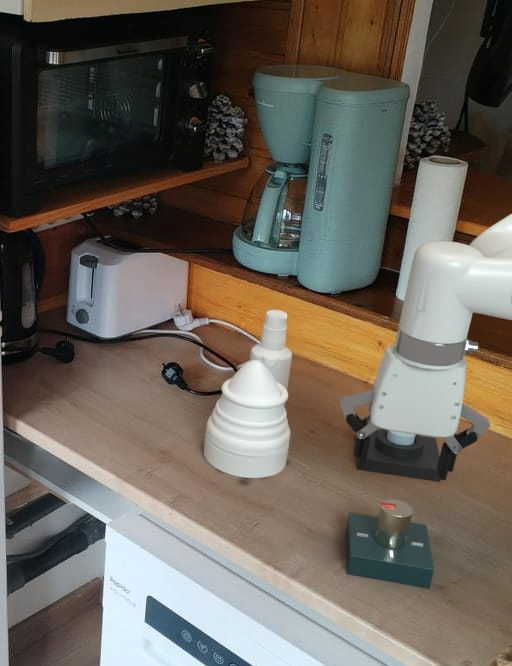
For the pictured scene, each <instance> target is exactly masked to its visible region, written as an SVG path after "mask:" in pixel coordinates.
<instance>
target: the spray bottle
mask: <svg viewBox="0 0 512 666" xmlns="http://www.w3.org/2000/svg"><path fill="white" fill-rule="evenodd" d="M287 320H288V313H287V312H286V311H283V310H280V309H269V310H267V311H266V313H265V319H264V323H263V325H262V331H261V332H262V333H261V336H260V343H257V344H255V345H254V346H253V347H251V350H250V357H249V361H252V360H260V361H262V362H263V360H262V354H263V353H266V352H272V353H276V354H278V355H279V356H280V359H279V362H278V364H277V365H276V366H275V367H273V368H269V369H270V370H271V372H272V373H273V375H274V377H275V380H276V382H278V383H280V384H281V385H283V386H284V387H285V388H286V390H287V391H288V387H289V379H290V372H291V366H292V359H293V352H292V350H291V349H289V347H287V346H286V343H287V338H286V337H287V331H288V326H287V322H288V321H287ZM280 394H281V393H280ZM283 406H284V407H285V408H286V402H285V403H284V404H283Z"/></svg>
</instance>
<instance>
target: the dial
mask: <svg viewBox="0 0 512 666" xmlns="http://www.w3.org/2000/svg"><path fill="white" fill-rule="evenodd" d="M413 515H414V509H413V507H412V506H411V505H410V504H409V503H407V502H405V501H402V500H399V499H395V498H389V499H384V500H382V501H381V502H380V503H379V509H378V514H377V517H378V518H377V523H376V527H375V532H374V538H375V540H376V541H377V542H378V543H379V544H381V545H383V546H385V547H389V548H401V547H403V546H404V545H405V544H406V541H407V536H408V532H409V528H410V523H411V522H412V518H413Z"/></svg>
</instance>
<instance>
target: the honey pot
mask: <svg viewBox="0 0 512 666" xmlns="http://www.w3.org/2000/svg"><path fill="white" fill-rule="evenodd" d="M279 359H280V356H279V355H278V354H276V353H272V352H266V353H263V354H262V360H263V362H262V361H260V360H252V361H250V360H249V361H247V362H246V363H244V364H243V365H242V366H241V367H240V368H239V369H238V370H237V371H236V372H235V373H234V374H233V376H232V377H231V378H229V379H226V380H225V381H224V382H223V383H222V385H221V388H220V389H221V393H222V394H221V395H220V398H219V399H217V401H216V403H215V405H214V408H213V410H212V413H211V415H210V416H209V417H208V420H207V422H206V429H205V436H204V444H203V445H204V446H203V456H204V458H205V460H206V461H207V463H208V464H210V465H211V466H212V467H213V468H215V469H217V471H218V470H219V471H220V472H222V473H225V474H228V475H230V476H234V477H238V478H239V477H240V478H245V479H247V478H248V479H262V478H269V477H271V476H275V475H277V474H279V473H281V472H282V471H283V470H284V468H286V465H287V462H288V461H287V460H288V454H289V447H290V440H291V436H292V435H291V429H290V426H289V420H288V417H287V414H288V413H287V409H286V406H285V407H284V406H283V404H284V403H285V404H286V402H287V401H288V398H289V392H288V389H287V390H286V388H285V387H284V386H283V385H281V384H280V383H278V382H276V380H275V377H274V375H273V373H272V372H271V370H270V369H269V368H273V367H275V366H276V365H277V364H278V362H279ZM280 393H281V394H280Z"/></svg>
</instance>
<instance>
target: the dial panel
mask: <svg viewBox="0 0 512 666" xmlns="http://www.w3.org/2000/svg"><path fill="white" fill-rule="evenodd" d="M377 518H378V516H373V515H368V514H361V513H356V512H348V516H347V520H346V526H345V551H346V552H345V553H346V554H345V555H346V574H347V575H351V576H356V577H362V578H369V579H374V580H380V581H385V582H391V583H396V584H402V585H408V586H413V587H417V588H418V587H419V588H424V589H430V588H431V584H432V580H433V576H434V573H435V567H434V560H433V554H432V549H431V543H430V537H429V532H428V531H429V530H428V525H427V524H423V523H418V522H412V521H411V523H410V528H409V532H408V536H407V541H406V544H405V545H404V546H403V547H401V548H389V547H385V546H383V545H381V544H379V543H378V542H377V541H376V540H375V538H374V532H375V527H376V523H377Z"/></svg>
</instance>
